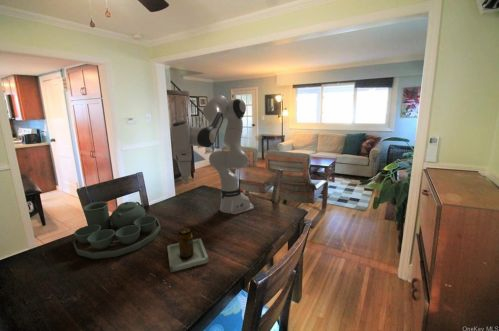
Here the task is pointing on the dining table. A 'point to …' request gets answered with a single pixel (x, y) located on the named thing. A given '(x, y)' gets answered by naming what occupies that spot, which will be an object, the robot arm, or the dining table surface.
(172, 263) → the tray
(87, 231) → the tea set
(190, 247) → the condiment
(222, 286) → the dining table surface
